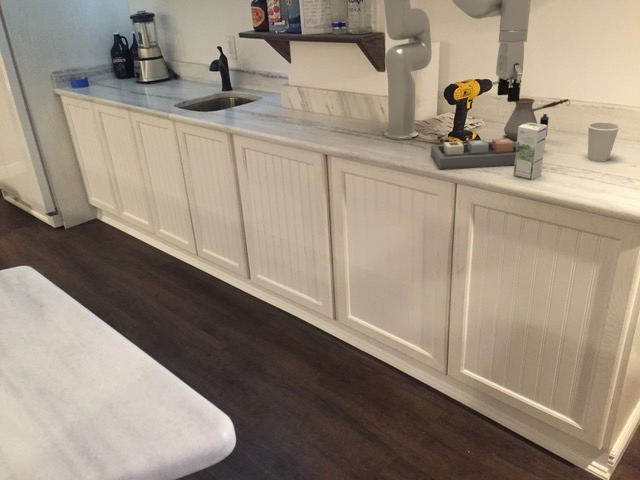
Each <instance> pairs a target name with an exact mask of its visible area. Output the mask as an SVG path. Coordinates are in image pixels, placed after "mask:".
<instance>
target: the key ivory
mask: <svg viewBox="0 0 640 480" xmlns="http://www.w3.org/2000/svg"><path fill="white" fill-rule="evenodd" d="M443 145H444V151H445V153H446V154H447V155H449V154H463V152H464V146H463V143H462V142H461V141H445V142H443Z"/></svg>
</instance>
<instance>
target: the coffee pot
mask: <svg viewBox="0 0 640 480" xmlns="http://www.w3.org/2000/svg"><path fill="white" fill-rule="evenodd" d="M534 102H536V100H535V99H533V98H527V97H524V98H523V97H521V98H520V97H519V101H517V102H515V108H514V110H513V111H512V113H511V114H510V117H509V118H508V120H507V122H506V124H505V126H504V128H503V131H504V134H505V135H506V136H507V137H508V138H509V139H510V140H511V141H517V136H518V127H519V126H521V125H522V124H524V123H535V124H538V121H537V117H536V115H535V112H537V111H540V110H542V109H547V108H551V107H552V108H553V107H556V106H557V105H562V104H563V103H565V105H566V106H567V107H568V106H570V105H571V101H570V100H569V99H568V98H567V99H563V100H562V99H560V100H558V101H553V102H550V103H548V104H544V105H542V106H538V107H535V108H533V104H534ZM567 102H568V104H567Z"/></svg>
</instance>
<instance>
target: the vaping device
mask: <svg viewBox="0 0 640 480" xmlns="http://www.w3.org/2000/svg"><path fill="white" fill-rule="evenodd" d="M539 121H540V122H539V124H542V125H547V129H548V127H549V116H548V114H547V113H544V114H543V115H542V116H541V117H540V120H539ZM547 136H548V130H547V131H546V137H547ZM545 147H546V145H545V146H544V148H545Z"/></svg>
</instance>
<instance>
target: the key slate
mask: <svg viewBox="0 0 640 480" xmlns="http://www.w3.org/2000/svg"><path fill="white" fill-rule="evenodd" d="M487 142H488V141H486V140H485V139H478V140H476V139H475V140H468V141H467V143H468V149H469V151H470V152H471V153H482V152H488V148H489V144H488V143H487Z"/></svg>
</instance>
